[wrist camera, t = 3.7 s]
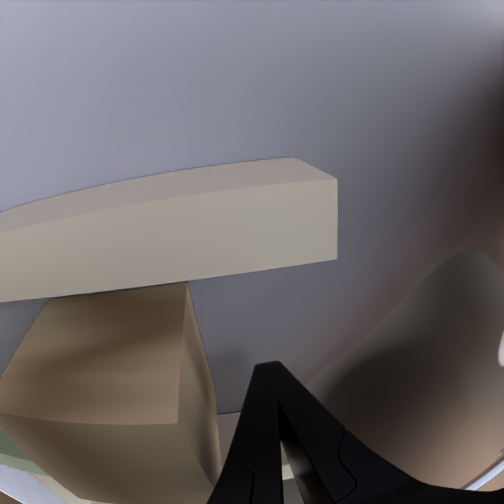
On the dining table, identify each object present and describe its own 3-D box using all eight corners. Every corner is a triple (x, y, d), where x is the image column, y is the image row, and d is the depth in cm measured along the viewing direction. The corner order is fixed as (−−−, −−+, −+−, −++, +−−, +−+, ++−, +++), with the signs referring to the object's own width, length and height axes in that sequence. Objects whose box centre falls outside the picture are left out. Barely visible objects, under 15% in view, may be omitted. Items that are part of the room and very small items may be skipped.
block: (187, 281, 9) (177, 422, 5) (215, 390, 11) (225, 505, 7) (49, 299, 9) (-17, 409, 4) (100, 396, 11) (79, 498, 6)
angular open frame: (294, 157, 8) (337, 179, 5) (296, 469, 15) (306, 508, 13) (-98, 248, 7) (-134, 278, 4) (48, 470, 14) (41, 502, 11)
